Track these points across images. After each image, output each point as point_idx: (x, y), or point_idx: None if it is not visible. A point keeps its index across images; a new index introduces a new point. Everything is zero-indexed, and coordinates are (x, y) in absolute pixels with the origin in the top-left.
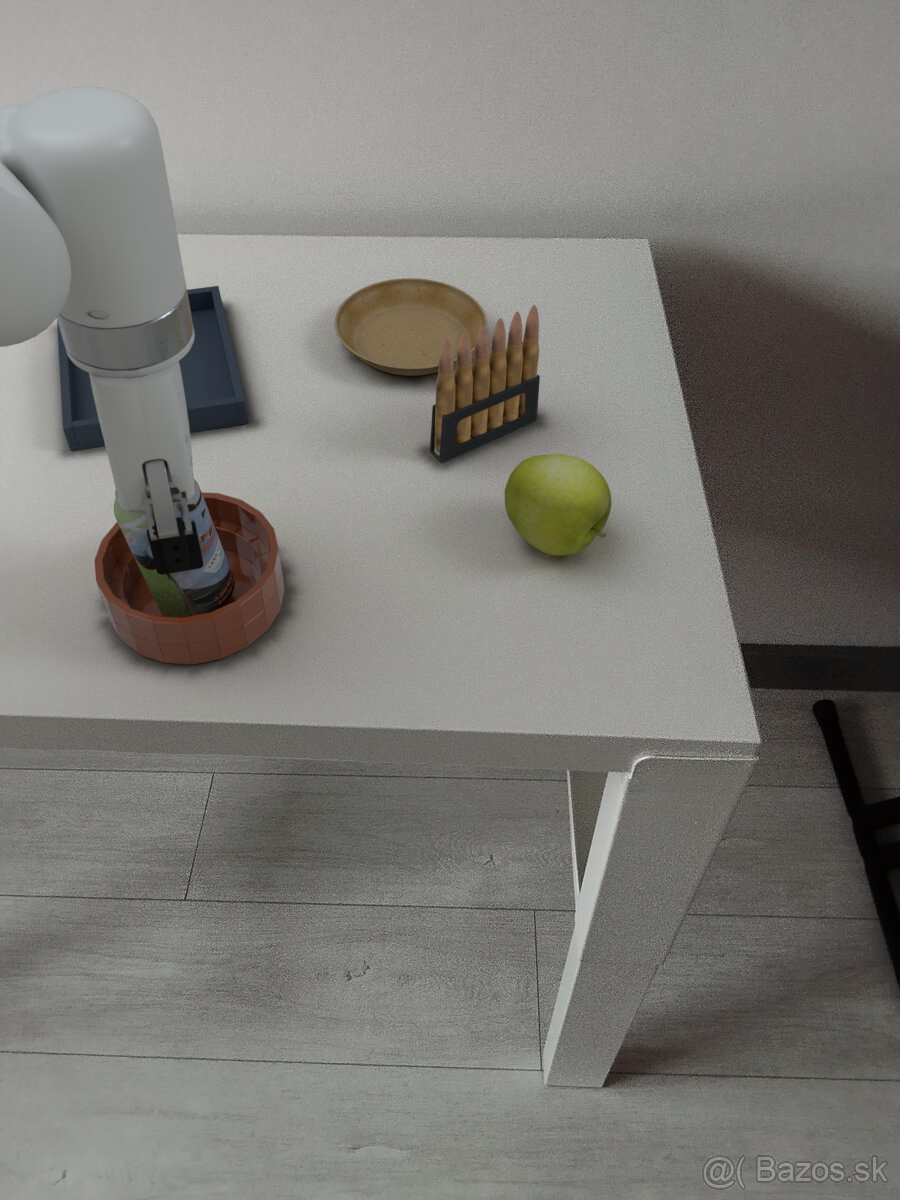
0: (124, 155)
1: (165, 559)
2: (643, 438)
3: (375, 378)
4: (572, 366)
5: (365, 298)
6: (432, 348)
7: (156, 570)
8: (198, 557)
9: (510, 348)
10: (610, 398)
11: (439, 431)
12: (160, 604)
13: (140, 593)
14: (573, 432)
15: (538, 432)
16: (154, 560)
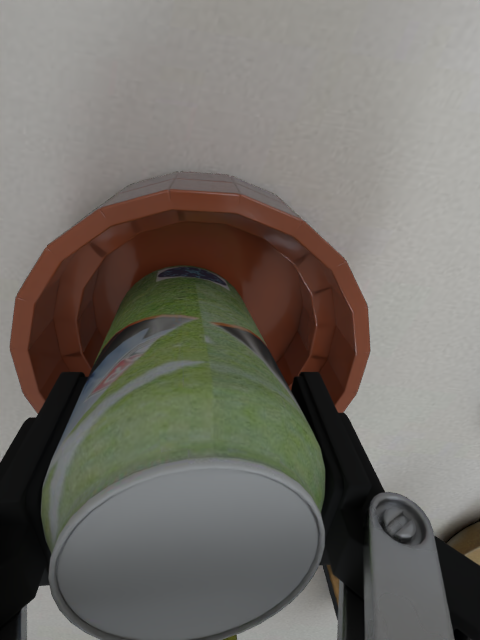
0: None
1: (10, 448)
2: (276, 636)
3: (469, 516)
4: None
5: None
6: (471, 558)
7: (59, 377)
8: None
9: None
10: (329, 628)
11: (336, 585)
12: (138, 286)
13: (232, 232)
14: (304, 610)
15: (317, 595)
16: (42, 406)
